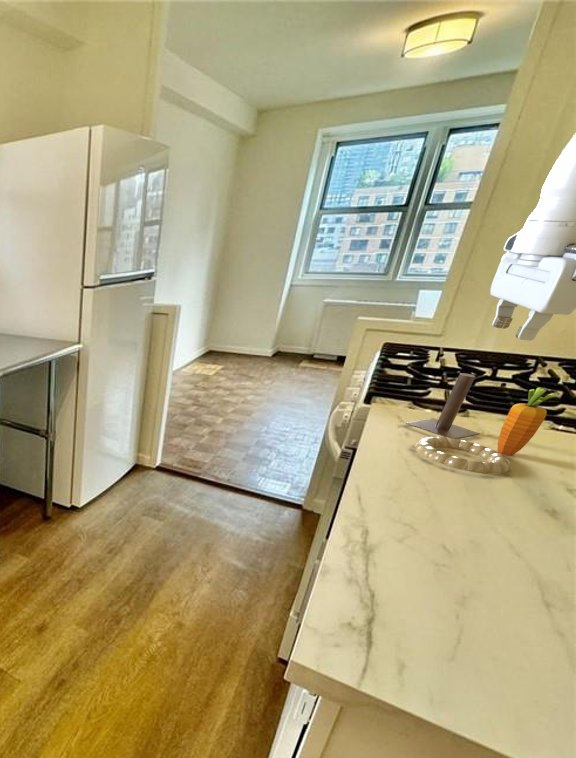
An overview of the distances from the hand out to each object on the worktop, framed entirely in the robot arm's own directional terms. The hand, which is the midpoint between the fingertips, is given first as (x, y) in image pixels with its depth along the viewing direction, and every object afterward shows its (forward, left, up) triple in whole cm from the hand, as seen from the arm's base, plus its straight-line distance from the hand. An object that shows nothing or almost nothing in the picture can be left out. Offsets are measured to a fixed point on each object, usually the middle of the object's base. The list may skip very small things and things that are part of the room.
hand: (510, 333), depth 80 cm
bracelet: (+1, -6, -24) cm, 25 cm away
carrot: (-1, -16, -26) cm, 30 cm away
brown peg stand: (+11, -18, -26) cm, 33 cm away
